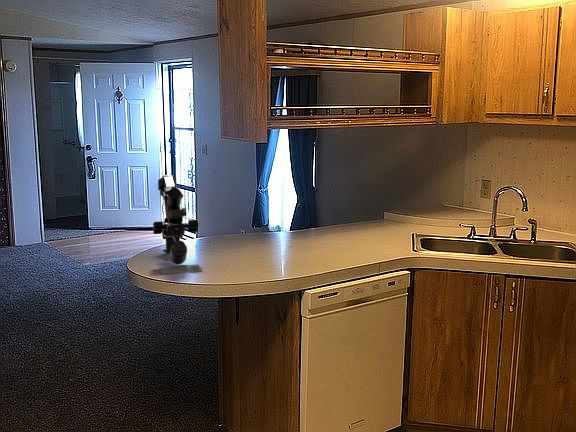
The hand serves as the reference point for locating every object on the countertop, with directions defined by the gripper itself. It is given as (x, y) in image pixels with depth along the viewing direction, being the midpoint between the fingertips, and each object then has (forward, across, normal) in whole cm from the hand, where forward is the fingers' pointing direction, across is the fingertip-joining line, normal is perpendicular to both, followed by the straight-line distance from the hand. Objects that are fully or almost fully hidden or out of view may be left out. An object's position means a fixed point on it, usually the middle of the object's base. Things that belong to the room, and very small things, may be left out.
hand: (177, 243), depth 261 cm
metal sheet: (+12, 0, +1) cm, 12 cm away
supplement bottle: (+3, 0, +6) cm, 7 cm away
